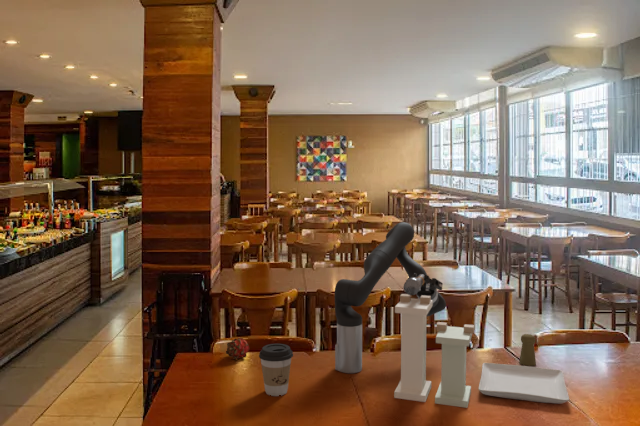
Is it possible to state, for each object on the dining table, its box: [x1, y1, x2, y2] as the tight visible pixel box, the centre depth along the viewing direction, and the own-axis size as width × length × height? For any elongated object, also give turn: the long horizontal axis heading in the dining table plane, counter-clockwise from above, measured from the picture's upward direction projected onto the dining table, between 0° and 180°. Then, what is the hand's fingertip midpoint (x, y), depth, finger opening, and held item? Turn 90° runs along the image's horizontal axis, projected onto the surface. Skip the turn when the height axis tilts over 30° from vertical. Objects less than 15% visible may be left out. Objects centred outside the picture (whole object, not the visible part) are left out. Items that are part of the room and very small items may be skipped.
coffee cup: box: [258, 343, 294, 397], centre depth 187 cm, size 11×11×15 cm
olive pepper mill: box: [518, 333, 537, 367], centre depth 213 cm, size 6×6×11 cm
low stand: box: [434, 321, 475, 409], centre depth 182 cm, size 12×13×24 cm
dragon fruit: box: [225, 337, 250, 360], centre depth 221 cm, size 8×8×12 cm
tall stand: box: [393, 293, 433, 403], centre depth 185 cm, size 10×13×32 cm
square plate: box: [478, 362, 570, 405], centre depth 190 cm, size 27×27×4 cm
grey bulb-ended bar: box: [403, 274, 425, 296], centre depth 188 cm, size 20×5×5 cm, turn 160°
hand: (420, 276), depth 194 cm, fingers closed on grey bulb-ended bar, 3 cm apart
